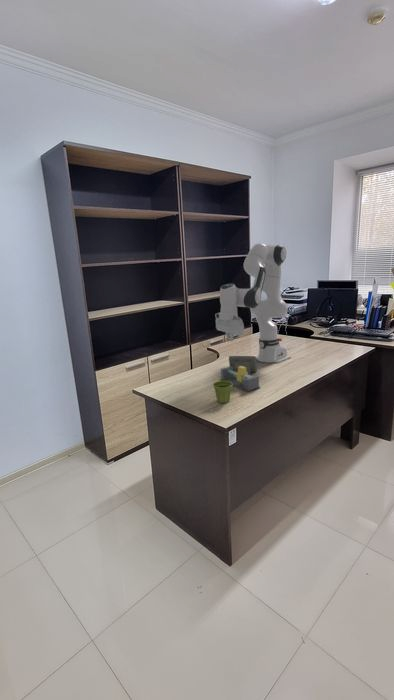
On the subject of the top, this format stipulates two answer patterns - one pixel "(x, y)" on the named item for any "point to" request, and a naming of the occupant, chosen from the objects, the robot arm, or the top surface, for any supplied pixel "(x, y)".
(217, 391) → the plant pot
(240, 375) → the yellow stepped block
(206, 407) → the top surface
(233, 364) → the digital clock
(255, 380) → the grey rectangular frame
